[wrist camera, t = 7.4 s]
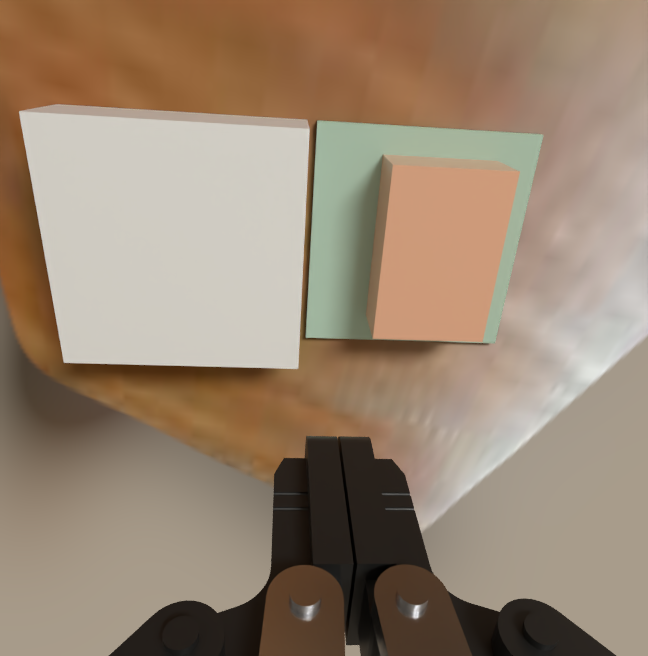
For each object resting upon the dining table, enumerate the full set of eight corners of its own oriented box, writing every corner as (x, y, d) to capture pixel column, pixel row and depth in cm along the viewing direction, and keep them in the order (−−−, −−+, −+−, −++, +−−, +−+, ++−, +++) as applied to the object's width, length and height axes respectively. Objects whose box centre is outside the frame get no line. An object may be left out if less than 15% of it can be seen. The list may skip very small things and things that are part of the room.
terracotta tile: (520, 171, 25) (497, 160, 27) (392, 164, 24) (382, 154, 27) (482, 342, 29) (466, 318, 31) (372, 338, 28) (365, 314, 31)
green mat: (317, 120, 26) (317, 121, 26) (540, 134, 27) (543, 135, 27) (305, 334, 32) (305, 337, 31) (492, 340, 33) (494, 343, 32)
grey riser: (57, 104, 26) (19, 111, 22) (307, 119, 26) (309, 128, 23) (90, 327, 31) (64, 362, 27) (297, 334, 32) (297, 368, 28)
